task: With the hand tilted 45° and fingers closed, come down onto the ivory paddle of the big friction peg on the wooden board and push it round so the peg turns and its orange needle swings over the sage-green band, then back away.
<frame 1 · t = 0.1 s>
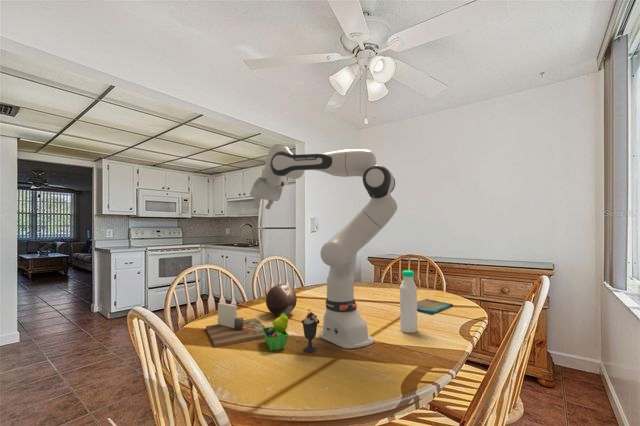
hand: (261, 208, 141), 52 cm above the table, tool tilted 20°, fingers open, 8 cm apart
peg: (237, 317, 128), point 6 cm above the table, hinge at 0.0°
fruit basket: (276, 345, 114), on the table
sundae: (310, 350, 110), on the table
wooden board: (237, 332, 127), on the table
wooden sphere: (281, 315, 151), on the table
water bottle: (408, 331, 129), on the table
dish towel: (428, 308, 164), on the table
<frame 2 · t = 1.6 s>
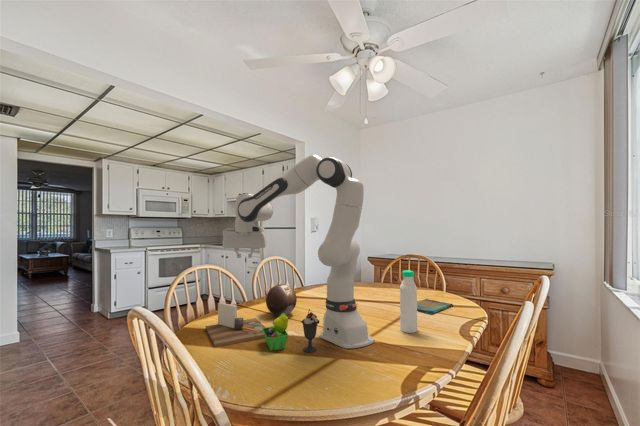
hand: (244, 257, 144), 29 cm above the table, tool pointing down, fingers open, 4 cm apart
nothing on the table moved.
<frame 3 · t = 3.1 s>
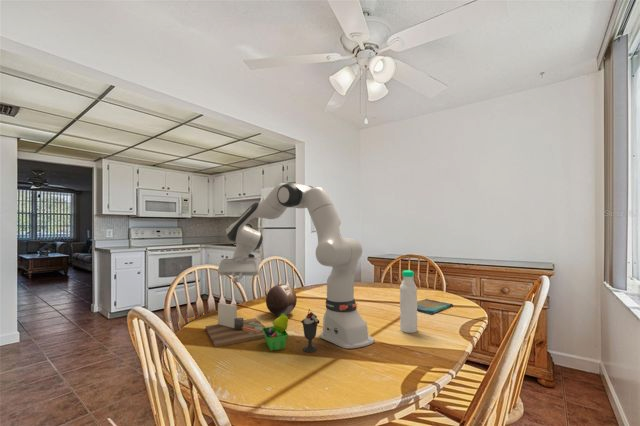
hand: (235, 281, 150), 17 cm above the table, tool tilted 45°, fingers closed
nothing on the table moved.
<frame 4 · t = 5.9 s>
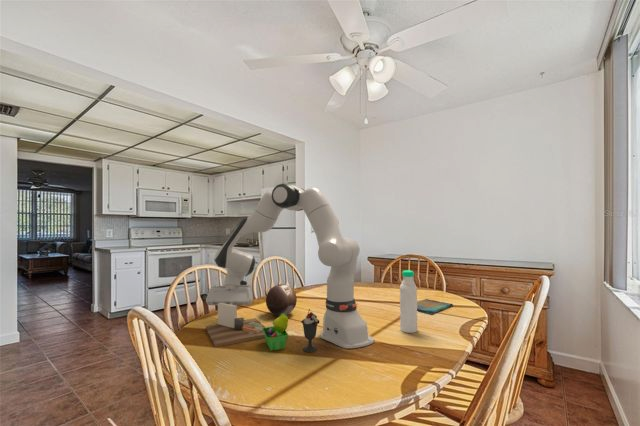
hand: (225, 313, 135), 6 cm above the table, tool tilted 45°, fingers closed
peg: (237, 317, 128), point 6 cm above the table, hinge at 0.6°, touching gripper
everything else where it was.
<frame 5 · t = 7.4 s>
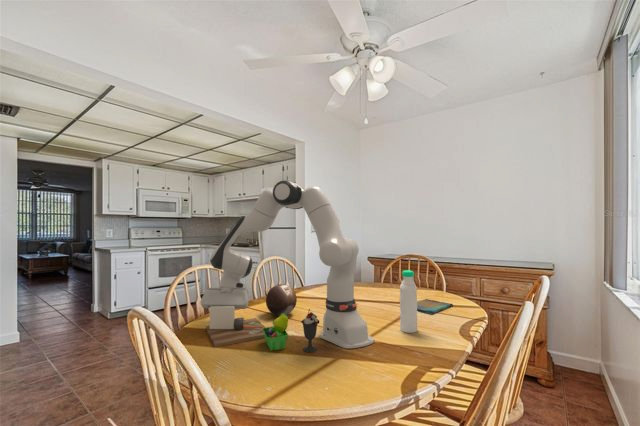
hand: (220, 317, 129), 6 cm above the table, tool tilted 45°, fingers closed, pressing on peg
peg: (236, 317, 128), point 6 cm above the table, hinge at 30.8°, touching gripper
everything else where it was.
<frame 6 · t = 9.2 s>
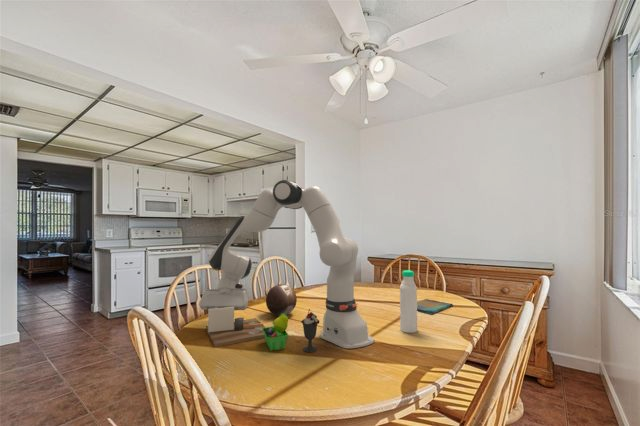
hand: (219, 318, 127), 6 cm above the table, tool tilted 45°, fingers closed
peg: (236, 317, 127), point 6 cm above the table, hinge at 48.3°, touching gripper
everything else where it was.
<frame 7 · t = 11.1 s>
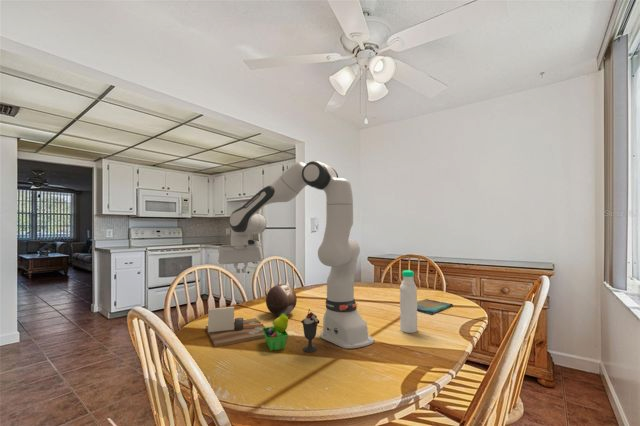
hand: (240, 272, 142), 22 cm above the table, tool pointing down, fingers closed
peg: (236, 317, 127), point 6 cm above the table, hinge at 48.3°
everything else where it was.
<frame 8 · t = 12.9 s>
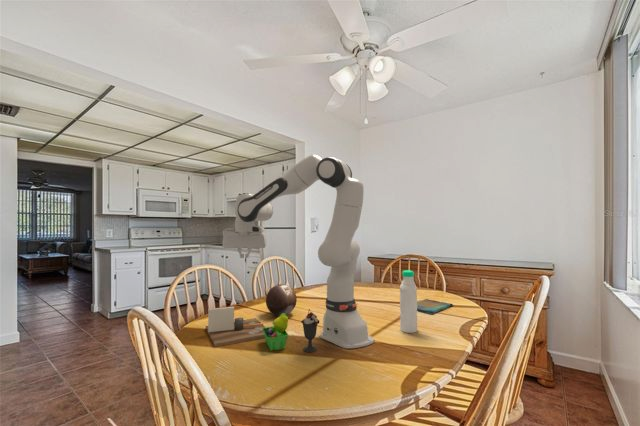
hand: (244, 257, 144), 29 cm above the table, tool pointing down, fingers closed
nothing on the table moved.
at the end: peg at +48° (first picture: +0°) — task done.
